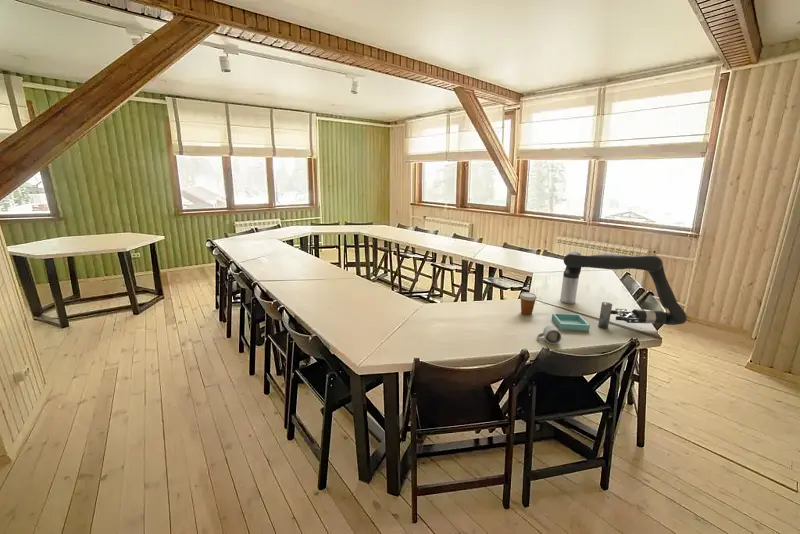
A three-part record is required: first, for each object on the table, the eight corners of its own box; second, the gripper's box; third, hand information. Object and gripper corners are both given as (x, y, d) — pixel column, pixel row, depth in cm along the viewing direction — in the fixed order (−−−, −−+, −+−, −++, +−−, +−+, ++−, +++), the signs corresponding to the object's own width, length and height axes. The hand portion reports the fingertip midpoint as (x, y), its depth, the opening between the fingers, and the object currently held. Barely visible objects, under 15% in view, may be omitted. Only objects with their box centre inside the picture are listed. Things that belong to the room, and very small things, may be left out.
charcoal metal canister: (596, 325, 202) (600, 301, 198) (605, 325, 201) (609, 302, 198) (600, 328, 197) (604, 305, 193) (609, 329, 196) (614, 305, 193)
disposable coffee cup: (524, 317, 212) (526, 298, 209) (515, 311, 221) (517, 292, 218) (538, 315, 215) (540, 296, 211) (528, 309, 223) (530, 291, 220)
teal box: (551, 319, 209) (552, 313, 208) (578, 320, 207) (579, 314, 206) (559, 330, 195) (560, 323, 193) (588, 332, 193) (589, 325, 192)
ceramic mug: (556, 337, 187) (558, 324, 185) (560, 344, 179) (562, 330, 177) (535, 336, 188) (536, 322, 186) (538, 343, 180) (539, 329, 178)
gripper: (637, 305, 201) (607, 303, 203) (652, 315, 187) (619, 313, 189) (635, 317, 203) (605, 316, 205) (649, 328, 189) (617, 326, 191)
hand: (612, 315), depth 197 cm, fingers open, 8 cm apart
